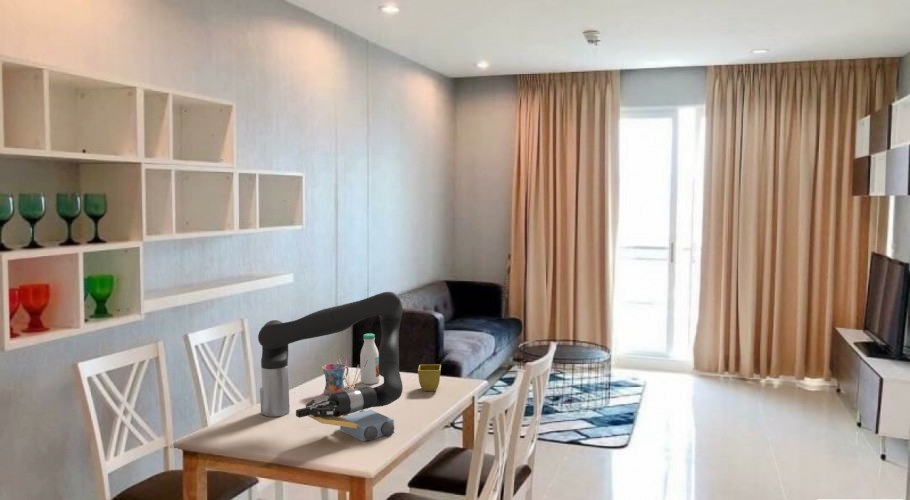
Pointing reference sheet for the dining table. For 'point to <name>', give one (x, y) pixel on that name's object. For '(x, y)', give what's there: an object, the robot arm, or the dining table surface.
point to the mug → (334, 378)
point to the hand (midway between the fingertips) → (297, 413)
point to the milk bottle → (369, 361)
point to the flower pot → (429, 377)
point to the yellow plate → (336, 421)
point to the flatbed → (369, 425)
